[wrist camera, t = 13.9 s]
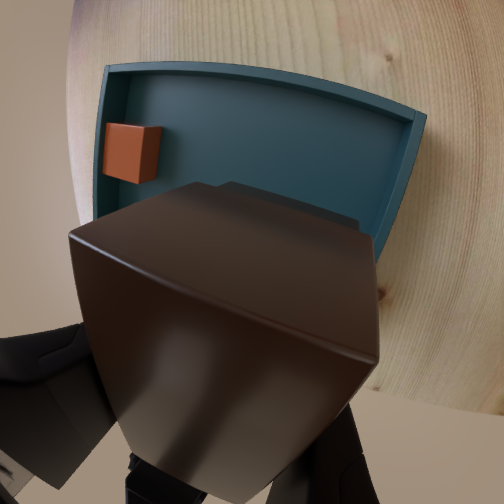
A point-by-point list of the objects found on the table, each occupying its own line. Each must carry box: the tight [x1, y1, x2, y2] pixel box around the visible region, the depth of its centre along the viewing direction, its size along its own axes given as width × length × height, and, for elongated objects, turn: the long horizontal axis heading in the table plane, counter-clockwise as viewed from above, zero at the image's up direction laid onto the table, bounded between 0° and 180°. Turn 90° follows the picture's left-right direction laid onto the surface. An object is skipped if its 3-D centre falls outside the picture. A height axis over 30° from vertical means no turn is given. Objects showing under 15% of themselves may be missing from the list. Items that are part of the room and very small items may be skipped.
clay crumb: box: [103, 121, 162, 184], centre depth 18 cm, size 4×4×2 cm
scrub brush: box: [68, 181, 379, 504], centre depth 7 cm, size 4×8×5 cm, turn 168°
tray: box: [93, 61, 427, 264], centre depth 17 cm, size 20×13×3 cm, turn 77°
